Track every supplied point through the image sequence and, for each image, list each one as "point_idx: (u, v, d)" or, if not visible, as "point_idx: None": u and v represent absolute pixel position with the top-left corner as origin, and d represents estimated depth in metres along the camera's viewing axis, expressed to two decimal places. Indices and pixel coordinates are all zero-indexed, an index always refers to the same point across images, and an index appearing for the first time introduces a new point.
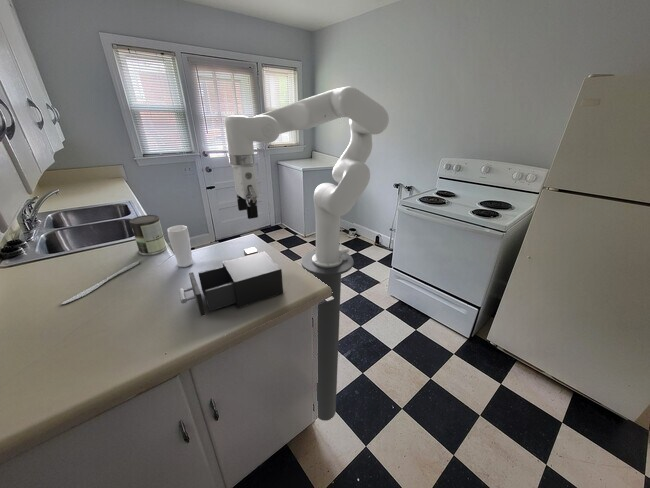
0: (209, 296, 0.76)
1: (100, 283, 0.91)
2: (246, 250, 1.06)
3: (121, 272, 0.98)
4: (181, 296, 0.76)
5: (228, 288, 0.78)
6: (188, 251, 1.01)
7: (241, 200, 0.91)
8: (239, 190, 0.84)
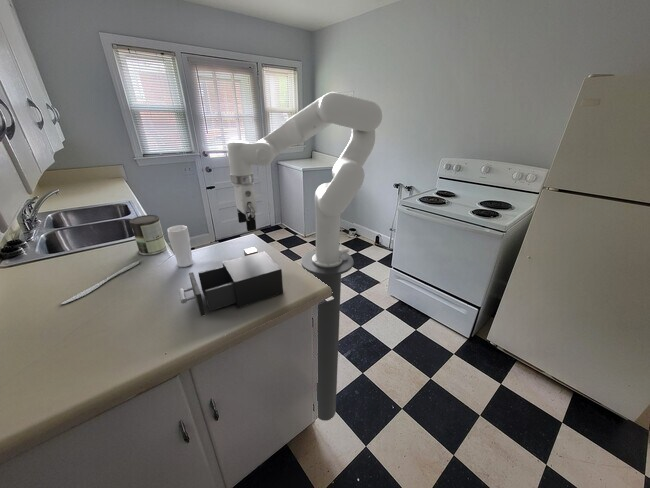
0: (209, 296, 0.76)
1: (100, 283, 0.91)
2: (246, 250, 1.06)
3: (121, 272, 0.98)
4: (181, 296, 0.76)
5: (228, 288, 0.78)
6: (188, 251, 1.01)
7: (241, 213, 1.02)
8: (239, 206, 0.94)
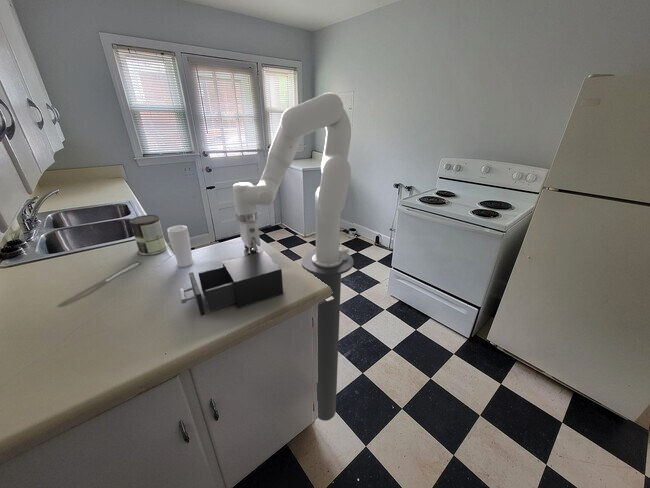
0: (209, 296, 0.76)
1: None
2: (246, 250, 1.06)
3: (121, 273, 0.98)
4: (181, 296, 0.76)
5: (228, 288, 0.78)
6: (188, 251, 1.01)
7: None
8: (244, 240, 1.02)
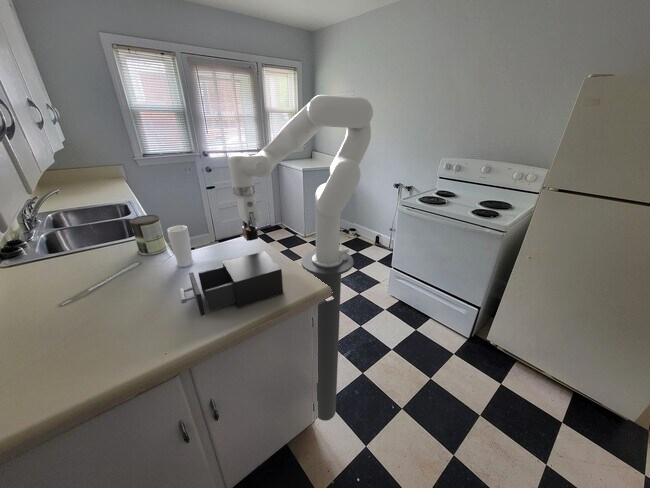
0: (209, 296, 0.76)
1: (100, 284, 0.91)
2: (244, 227, 1.02)
3: (121, 273, 0.98)
4: (181, 296, 0.76)
5: (228, 288, 0.78)
6: (188, 251, 1.01)
7: None
8: (242, 216, 0.98)
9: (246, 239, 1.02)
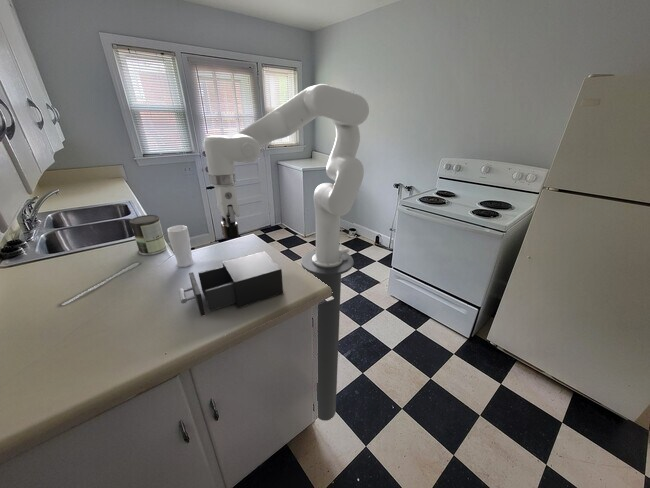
0: (209, 296, 0.76)
1: (100, 284, 0.91)
2: (223, 222, 0.88)
3: (121, 273, 0.98)
4: (181, 296, 0.76)
5: (228, 288, 0.78)
6: (188, 251, 1.01)
7: None
8: (220, 209, 0.83)
9: (224, 236, 0.87)
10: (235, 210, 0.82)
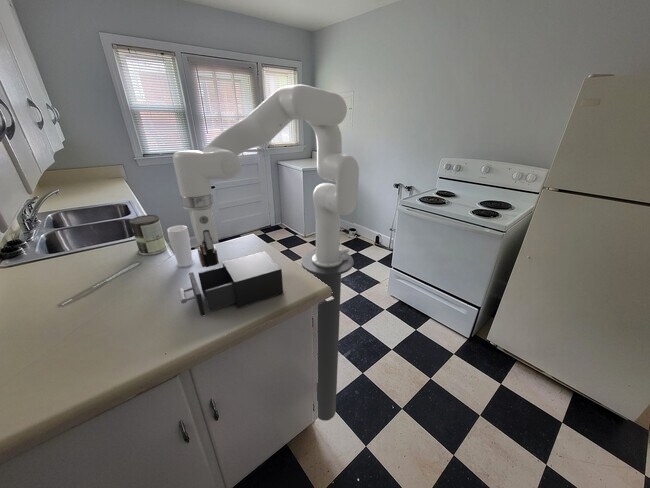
0: (209, 296, 0.76)
1: None
2: (200, 248, 0.76)
3: (121, 273, 0.98)
4: (181, 296, 0.76)
5: (228, 288, 0.78)
6: (188, 251, 1.01)
7: None
8: (195, 234, 0.72)
9: None
10: (213, 236, 0.71)
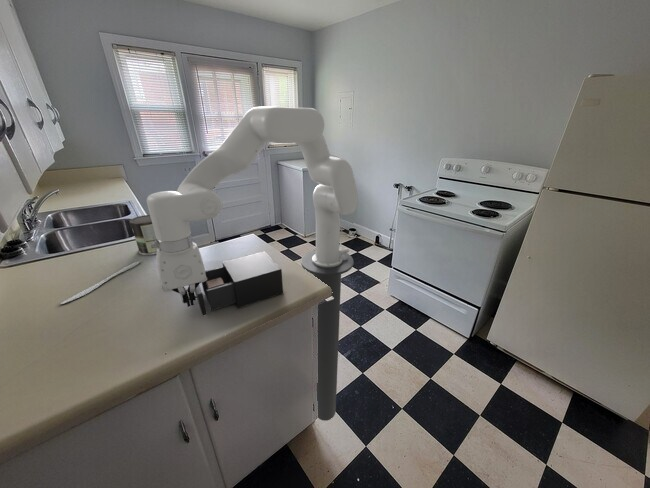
0: (210, 296, 0.76)
1: (100, 283, 0.91)
2: (209, 282, 0.81)
3: (121, 272, 0.98)
4: None
5: (230, 287, 0.78)
6: None
7: None
8: None
9: None
10: (161, 280, 0.66)
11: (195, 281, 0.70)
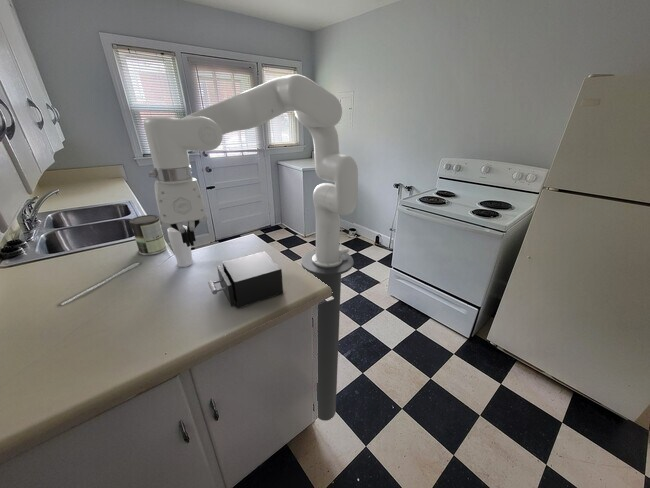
0: None
1: (100, 284, 0.91)
2: None
3: (121, 273, 0.98)
4: (212, 287, 0.80)
5: None
6: (188, 251, 1.01)
7: (187, 231, 0.70)
8: None
9: None
10: (159, 214, 0.64)
11: (195, 217, 0.67)
